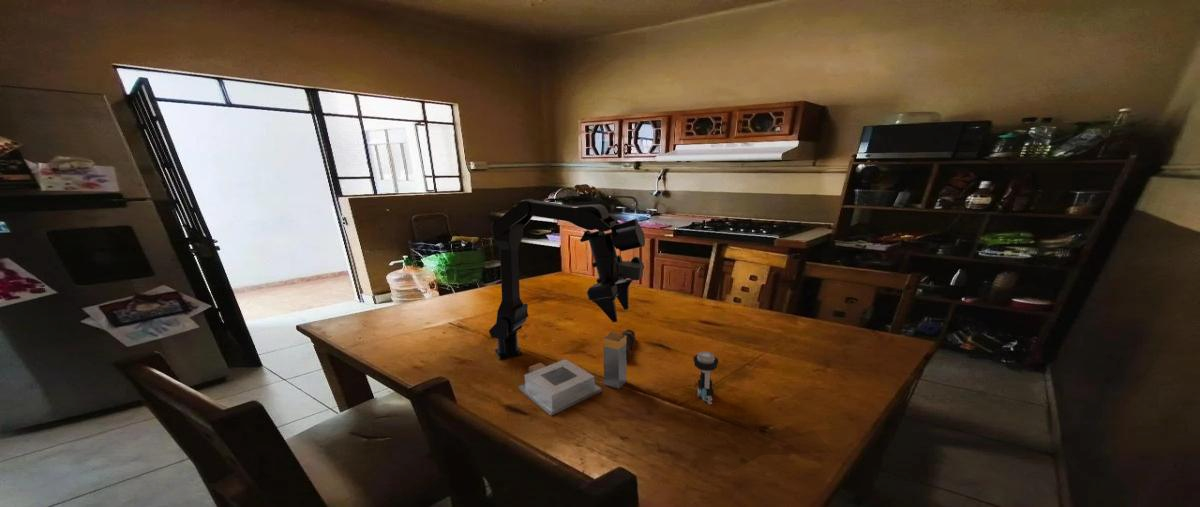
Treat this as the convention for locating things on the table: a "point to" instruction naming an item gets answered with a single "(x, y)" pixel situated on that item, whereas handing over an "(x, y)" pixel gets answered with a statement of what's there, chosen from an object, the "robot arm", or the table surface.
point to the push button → (705, 374)
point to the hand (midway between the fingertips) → (621, 315)
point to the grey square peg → (614, 359)
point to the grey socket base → (558, 385)
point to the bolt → (629, 342)
